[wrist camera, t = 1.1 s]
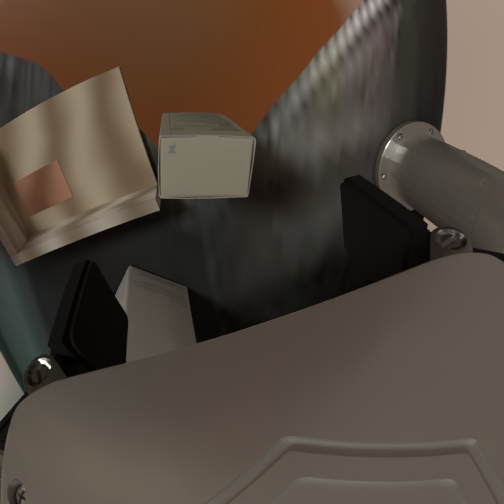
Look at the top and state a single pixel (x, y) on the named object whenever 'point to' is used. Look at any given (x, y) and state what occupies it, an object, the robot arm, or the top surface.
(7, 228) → the tray
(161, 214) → the top surface
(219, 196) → the skincare box
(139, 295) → the skincare box
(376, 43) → the top surface
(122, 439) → the robot arm
